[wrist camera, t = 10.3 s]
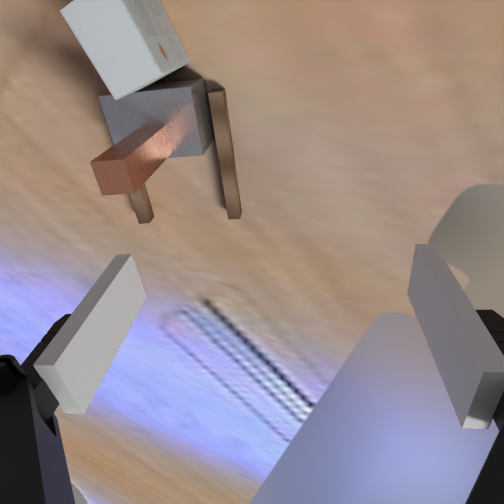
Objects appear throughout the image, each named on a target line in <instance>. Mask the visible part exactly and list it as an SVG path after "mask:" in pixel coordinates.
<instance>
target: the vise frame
mask: <svg viewBox="0 0 504 504" xmlns="http://www.w3.org/2000/svg"><path fill="white" fill-rule="evenodd" d="M208 96H209V102H210V108H211V115H212V121H213V127H214V133H215V139H216V145H217V152H218V158H219V164H220V170H221V176H222V183H223V189H224V195H225V201H226V207H227V214H228V219H240V217H241V213H242V210H241V203H240V195H239V188H238V181H237V173H236V166H235V159H234V151H233V144H232V137H231V129H230V122H229V115H228V107H227V100H226V93H225V89H218V90H211V91H210V92H209V93H208ZM130 197H131V200H132V204H133V207H134V210H135V213H136V216H137V219H138V222H139V224H141V223H150V222H151V220H152V219H153V218H154V214H153V210H152V207H151V204H150V200H149V197H148V193H147V190H146V186H145V183H144V184H143V185H142V186H141V187H140V188H139V189H138V190H137V191H136V192H135V193H133V194H130Z"/></svg>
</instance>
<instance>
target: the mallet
mask: <svg viewBox="0 0 504 504" xmlns="http://www.w3.org/2000/svg"><path fill="white" fill-rule="evenodd" d="M98 97H99V100H100V103H101V106H102V110H103V113H104V116H105V119H106V122H107V125H108V128H109V132H110V135H111V138H112V141H113V144H114V146H112V147H111V148H109V149H108V150H106V151H105V152H104V153H102V154H101V155H99V156H98V157H96V158H95V159H94V160H92V161H91V162H90V163H91V166H92V169H93V171H94V174H95V177H96V180H97V182H98V185H99V188H100V191H101V193H102V195H117V194H133V193H135V192H136V191H137V190H138V189H139V188H140V187H141V186H142V185H143V184H144V183H145V182H146V181H147V179H148V178H149V177H150V176H151V175H152V174H153V173H154V172H155V171H156V170H157V169H158V168H159V166H160V165H161V164H162V163H163V162H164V161H165V160H166V159H167V158H172V157H185V156H198V155H203V154H204V153H205V151H206V150H207V149H208V147H209V146H210V144H211V143H212V141H213V134H212V128H211V122H210V116H209V110H208V104H207V98H206V92H205V86H204V79H203V78H202V79H193V80H183V81H174V82H165V83H156V84H150V85H148V86H146V87H144V88H142V89H140V90H138V91H136V92H133V93H131V94H129V95H127V96H124V97H122V98H120V99H118V100H114V98H113V96H112V94H111V93H110V92H108V93H106V94H103V95H100V96H98Z"/></svg>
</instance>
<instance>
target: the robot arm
mask: <svg viewBox="0 0 504 504" xmlns="http://www.w3.org/2000/svg"><path fill="white" fill-rule="evenodd" d="M407 294H408V296H409V299H410V301H411V304H412V306H413V309H414V311H415V314H416V316H417V318H418V321H419V323H420V326H421V328H422V331H423V333H424V336H425V338H426V340H427V343H428V346H429V348H430V350H431V353H432V355H433V357H434V360H435V363H436V365H437V368H438V370H439V373H440V375H441V377H442V380H443V382H444V385H445V387H446V390H447V392H448V395H449V397H450V399H451V402H452V404H453V407H454V409H455V412H456V414H457V417H458V419H459V421H460V424H461V427H462V428H474V429H488V428H489V426H490V424H491V422H492V419H494V421H495V423H496V425H497V427H498V429H499V433H498V435H497V437H496V440H495V442H494V444H493V446H492V448H491V450H490V452H489V454H488V456H487V459H486V461H485V463H484V465H483V467H482V469H481V471H480V474H479V476H478V478H477V480H476V482H475V484H474V486H473V488H472V490H471V492H470V494H469V497H468V499H467V501H466V503H465V504H504V318H503V317H501V316H500V315H499V314H497V313H496V312H495V311H493V310H475V309H474V307H473V306H472V304H471V302H470V301H469V299H468V297H467V296H466V294H465V292H464V291H463V289H462V288H461V286H460V284H459V283H458V281H457V280H456V278H455V276H454V275H453V273H452V271H451V270H450V268H449V267H448V265H447V263H446V262H445V260H444V258H443V257H442V255H441V254H440V252H439V250H438V249H437V247H436V246H435V244H418V245H416V246H415V252H414V258H413V264H412V269H411V275H410V281H409V287H408V293H407ZM146 298H147V297H146V294H145V292H144V289H143V286H142V283H141V280H140V277H139V275H138V272H137V269H136V266H135V263H134V260H133V257H132V255H131V254H126V255H116V256H115V258H114V259H113V260H112V262H111V263H110V264H109V266H108V267H107V268H106V270H105V271H104V272H103V274H102V275H101V276H100V278H99V279H98V280H97V281H96V283H95V284H94V285H93V287H92V288H91V289H90V291H89V292H88V293H87V295H86V296H85V297H84V299H83V300H82V301H81V303H80V304H79V305H78V307H77V308H76V309H75V310H74V312H73V313H72V314H66V315H64V316H63V317H62V318H60V319H59V320H58V321H56V322H55V323H54V324H53V326H52V327H51V328H50V329H49V331H48V332H47V334H45V336H44V337H43V338H42V340H41V342H39V343H38V345H37V346H36V347H35V348H34V350H33V351H32V352H31V353H30V355H29V356H28V357H27V358H26V360H25V361H24V362H23V363H22V365H21V366H20V364H19V363H18V361H17V360H16V359H15V357H14V356H12V355H1V356H0V504H75V501H74V496H73V491H72V487H71V482H70V477H69V473H68V468H67V463H66V458H65V454H64V449H63V444H62V440H61V435H60V430H59V426H58V421H57V418H56V416H55V414H54V412H55V410H56V408H57V407H58V405H60V406H61V408H62V409H63V411H64V412H65V414H85V412H86V410H87V408H88V406H89V404H90V402H91V400H92V399H93V397H94V395H95V393H96V391H97V389H98V387H99V386H100V384H101V382H102V380H103V378H104V376H105V374H106V372H107V371H108V369H109V367H110V365H111V363H112V361H113V359H114V358H115V356H116V354H117V352H118V350H119V348H120V346H121V344H122V343H123V341H124V339H125V337H126V335H127V333H128V331H129V329H130V328H131V326H132V324H133V322H134V320H135V318H136V316H137V315H138V313H139V311H140V309H141V307H142V305H143V303H144V301H145V300H146Z"/></svg>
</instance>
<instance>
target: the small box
mask: <svg viewBox="0 0 504 504" xmlns="http://www.w3.org/2000/svg"><path fill="white" fill-rule="evenodd" d="M60 13H61V15H62V16H63V18H64V19H65V21H66V23H67V24H68V26H69V27H70V29H71V31H72V32H73V34H74V35H75V37H76V39H77V40H78V42H79V43H80V45H81V47H82V48H83V50H84V51H85V53H86V54H87V56H88V58H89V59H90V61H91V62H92V64H93V66H94V67H95V69H96V70H97V72H98V74H99V75H100V77H101V78H102V80H103V82H104V83H105V85H106V86H107V88H108V90H109V91H110V93H111V94H112V96H113V98H114V100H118V99H120V98H122V97H124V96H127V95H129V94H131V93H133V92H136V91H138V90H140V89H142V88H144V87H146V86H148V85H150V84H152V83H154V82H156V81H158V80H160V79H162V78H163V77H165V76H167V75H169V74H171V73H172V72H174V71H176V70H177V69H179V68H181V67H183V66H184V65H186V64H188V63H189V62H190V60H189V58H188V56H187V54H186V52H185V50H184V48H183V46H182V44H181V42H180V40H179V38H178V36H177V34H176V32H175V30H174V28H173V26H172V24H171V22H170V20H169V18H168V16H167V14H166V12H165V10H164V8H163V6H162V4H161V2H160V0H73V1H72V2H70V3H69V4H67V5H66V6H65V7H63V8H62V9H60Z"/></svg>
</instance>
